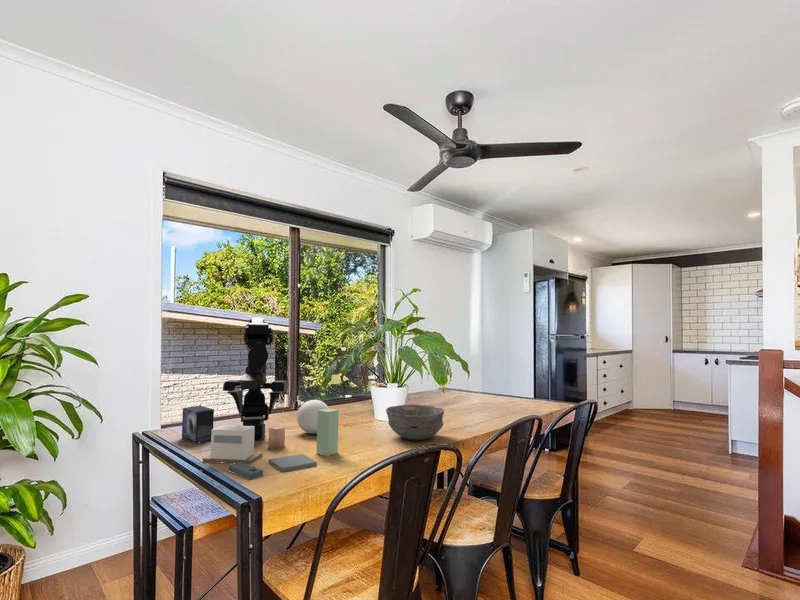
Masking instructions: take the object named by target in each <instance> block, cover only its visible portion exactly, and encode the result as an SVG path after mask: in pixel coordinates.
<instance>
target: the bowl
mask: <svg viewBox="0 0 800 600" xmlns="http://www.w3.org/2000/svg"><path fill="white" fill-rule="evenodd" d="M385 413H386V415H387V420H388V426H389V427H390V428H391V429H392V431H393V432H394V433H395V434H396V435H398V436H400V437H401V438H403V439H405V440H409V441H414V440H415V442H416V441H417V440H421V441H425V439H426V440H428V439H431V438H432V437H434V436H435V435H436V434H437V433H438V432H439V431H441V429H442V428H443V426H444V422H443V419H444V418H443V416H444V413H445V410H444V408H442V407H435V406H432V405H428V404H427V405H426V404H399V405H395V406H394V405H392V406H388V407H387V408H385Z"/></svg>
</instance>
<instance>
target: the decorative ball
mask: <svg viewBox="0 0 800 600" xmlns="http://www.w3.org/2000/svg"><path fill="white" fill-rule="evenodd" d="M327 408H328V409H330V408H329V406H328V405H327V404H326V403H325V402H324V401H322V400H320V399H319V400H318V399H310V400H307V401H305V402H304V403H303V404H301V406H300V407H299V409H298V411H297V417H296V420H297V424H298V427H299V428H300V429H301V430H302V431H304V432H305V433H306V434H307V433H308V434H311V435H313V434H316V435H317V419H318V410H322V409H327Z"/></svg>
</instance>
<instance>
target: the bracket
mask: <svg viewBox="0 0 800 600" xmlns="http://www.w3.org/2000/svg"><path fill="white" fill-rule="evenodd" d="M228 470H229V471H231V472H230V473H232V472H234V473H236V474H235V475H237V474H238V476H239V475H241V476H240V477H242V476H243V477H242V478H245V479H247V478H248V480H253V478H254V479H257V478H260V477H263V476H264V470H263V469H261V468H257V467H256V466H253V465H252V464H245V463H242V462H239V463H235V464H228V465H227V471H228ZM229 471H228V472H229ZM234 473H233V474H234Z"/></svg>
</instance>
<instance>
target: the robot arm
mask: <svg viewBox="0 0 800 600" xmlns="http://www.w3.org/2000/svg"><path fill="white" fill-rule="evenodd" d="M269 325H270V324H269V323H267V322H266V323H265V318H263V317H250V318H249V322H248V323H247V324H245V326H244V330H243V342H244V345H245V349H246V350H247V361H246V363H247V365H246V367H245V372H244V374H243V375H241V377H240V378H239V379H230V380H226V381H224V383H223V385H222V391H223V392H226V393H227V394H229V395H231V396H232V398H233V400H234V402H235V406H236V408H237V411H238V412H237V413H239V415H240V422H241V423H242V426H255V431H254V442H255V441H260V440H262V439H263V438H265V437H266V424H265V421H266V422H267V421H268V420H269V415H271V414H272V413H273V410H274V407H275V405H276V403H277V400H278V399H279V396H280V395H281V394H283V393H284V392H285V391H287V390H288V389H289V382H288V381H287V380H274V381H271V382H268V381H267V380H268V379H267V370H268V365H267V361H268V360H269V351H268V348H267V347H266V346H271V345H272V343H274V337H273V336H274V334H273V333H274V331H273V328H272V327H271V326H269ZM269 389H270V390H271V391H270V392H269V406H268V402H266V396H265V393H264V392H263V391H262V390H269ZM245 390H247V392H246V393H245V395H244V394H243V393H244V391H245ZM243 395H244V396H243Z"/></svg>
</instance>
